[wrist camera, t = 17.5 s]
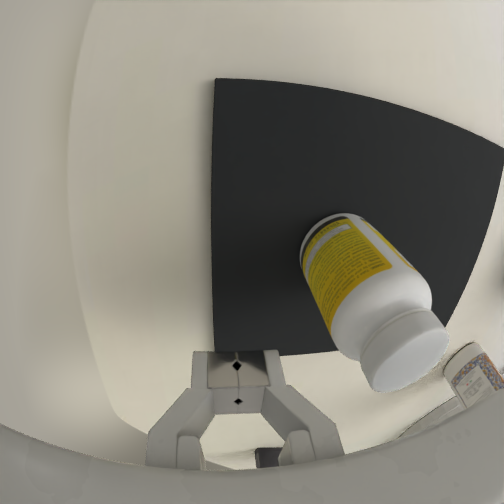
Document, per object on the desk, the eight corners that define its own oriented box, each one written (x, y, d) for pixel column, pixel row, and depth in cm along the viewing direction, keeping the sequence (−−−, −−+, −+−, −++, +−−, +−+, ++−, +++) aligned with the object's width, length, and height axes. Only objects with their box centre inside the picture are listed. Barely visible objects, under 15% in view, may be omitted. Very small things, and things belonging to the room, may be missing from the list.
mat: (215, 353, 22) (215, 358, 22) (215, 79, 13) (214, 78, 12) (440, 328, 25) (442, 331, 25) (501, 148, 16) (506, 149, 15)
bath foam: (475, 355, 31) (531, 446, 13) (442, 380, 32) (493, 478, 15) (479, 333, 28) (546, 436, 10) (442, 362, 29) (503, 474, 12)
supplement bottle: (289, 281, 19) (333, 409, 10) (309, 204, 16) (393, 315, 8) (358, 285, 20) (422, 391, 11) (383, 217, 17) (481, 310, 9)
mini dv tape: (306, 446, 36) (313, 477, 31) (302, 449, 37) (309, 480, 31) (257, 447, 34) (262, 482, 29) (254, 451, 35) (258, 484, 29)
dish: (383, 441, 42) (390, 460, 37) (474, 377, 36) (486, 395, 31) (410, 446, 51) (416, 461, 47) (479, 398, 45) (487, 411, 40)
